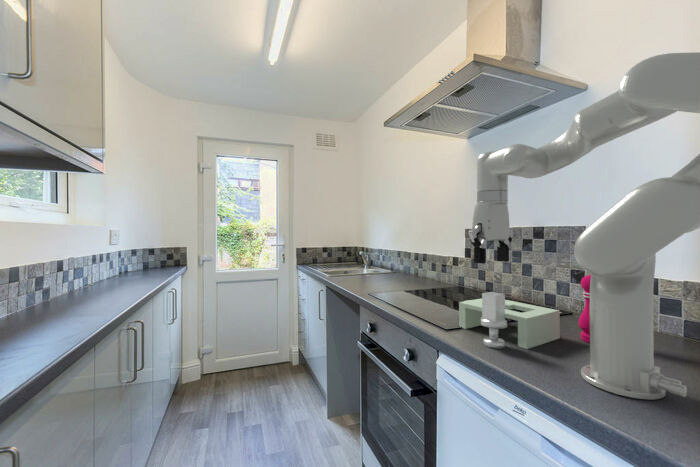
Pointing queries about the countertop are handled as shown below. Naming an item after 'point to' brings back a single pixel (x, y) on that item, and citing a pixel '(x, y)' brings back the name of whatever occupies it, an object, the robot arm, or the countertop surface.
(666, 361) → the countertop surface
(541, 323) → the keyhole bracket
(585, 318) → the pepper mill
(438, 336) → the countertop surface
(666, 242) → the robot arm
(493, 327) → the steel peg
